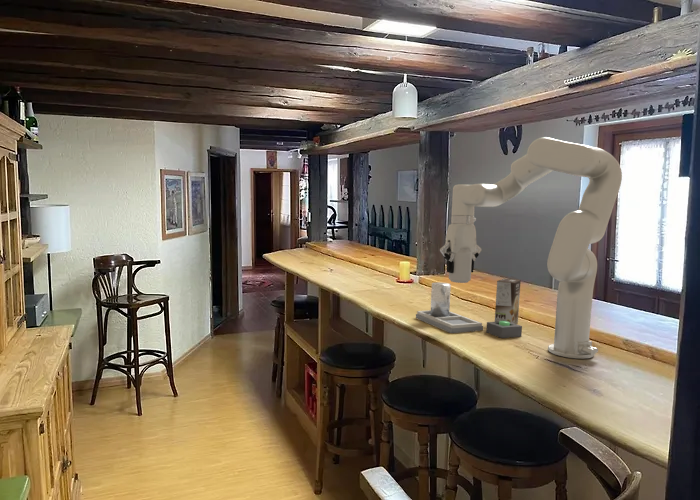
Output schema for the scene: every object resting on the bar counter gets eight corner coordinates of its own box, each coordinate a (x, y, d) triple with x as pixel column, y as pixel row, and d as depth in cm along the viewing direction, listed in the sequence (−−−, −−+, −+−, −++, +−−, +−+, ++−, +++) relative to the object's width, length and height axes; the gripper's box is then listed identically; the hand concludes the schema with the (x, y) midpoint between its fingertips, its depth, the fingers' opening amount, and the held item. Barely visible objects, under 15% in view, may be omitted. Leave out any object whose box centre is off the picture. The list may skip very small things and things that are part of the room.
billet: (452, 317, 194) (454, 285, 193) (436, 318, 191) (438, 285, 190) (442, 313, 200) (444, 282, 199) (426, 314, 197) (428, 282, 196)
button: (511, 331, 177) (511, 322, 177) (503, 332, 176) (503, 323, 176) (504, 329, 180) (505, 320, 180) (496, 330, 179) (496, 321, 179)
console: (521, 336, 176) (522, 326, 176) (501, 338, 173) (502, 327, 173) (505, 330, 184) (505, 320, 183) (486, 332, 180) (486, 322, 180)
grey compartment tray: (482, 330, 183) (483, 323, 183) (450, 333, 178) (451, 325, 177) (445, 316, 204) (445, 309, 204) (415, 318, 199) (416, 311, 198)
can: (469, 280, 187) (470, 246, 186) (471, 283, 180) (473, 248, 179) (447, 279, 188) (449, 245, 187) (449, 282, 181) (451, 247, 180)
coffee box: (511, 327, 188) (514, 282, 187) (493, 325, 191) (496, 280, 190) (518, 323, 196) (521, 279, 194) (500, 320, 199) (503, 277, 198)
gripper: (476, 220, 189) (474, 270, 191) (434, 220, 182) (432, 271, 184) (490, 221, 182) (487, 273, 184) (447, 221, 175) (444, 274, 177)
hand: (459, 271), depth 184 cm, fingers closed on can, 7 cm apart
